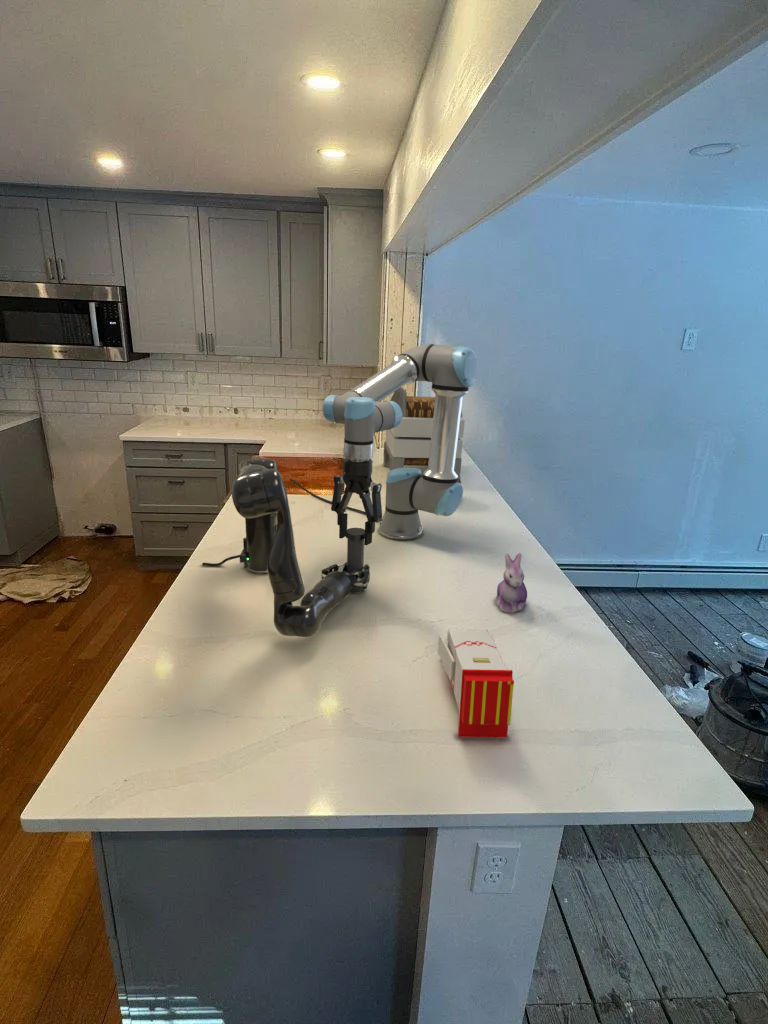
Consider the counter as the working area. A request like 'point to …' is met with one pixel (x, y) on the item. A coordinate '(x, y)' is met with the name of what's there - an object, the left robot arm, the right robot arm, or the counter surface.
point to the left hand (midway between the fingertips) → (359, 565)
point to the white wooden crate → (414, 433)
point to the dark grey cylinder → (355, 558)
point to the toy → (478, 682)
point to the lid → (355, 534)
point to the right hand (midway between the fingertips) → (355, 540)
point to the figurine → (512, 586)
